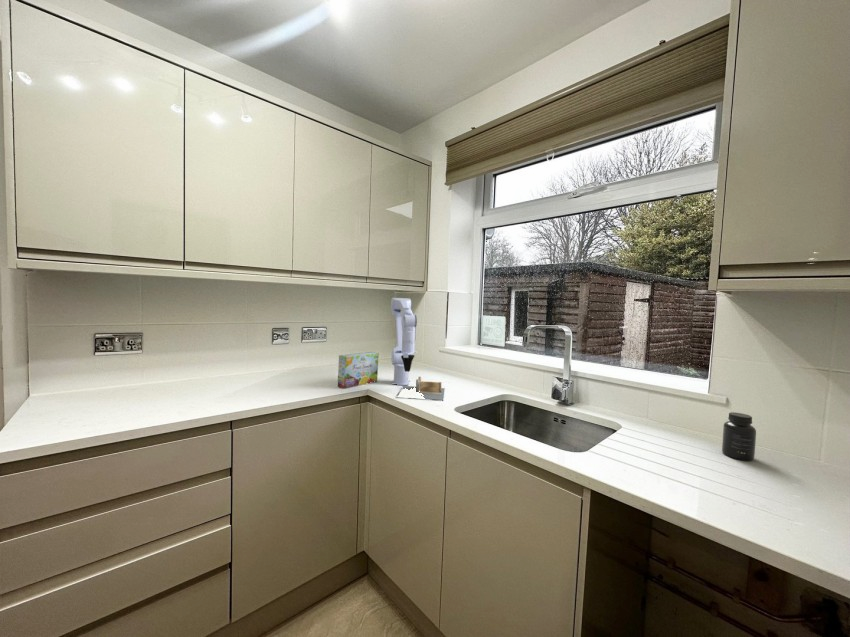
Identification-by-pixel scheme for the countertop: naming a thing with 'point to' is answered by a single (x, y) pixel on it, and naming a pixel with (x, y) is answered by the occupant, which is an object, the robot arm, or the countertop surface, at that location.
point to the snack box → (357, 369)
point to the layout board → (427, 394)
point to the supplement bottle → (739, 437)
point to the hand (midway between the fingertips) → (407, 371)
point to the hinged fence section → (430, 386)
